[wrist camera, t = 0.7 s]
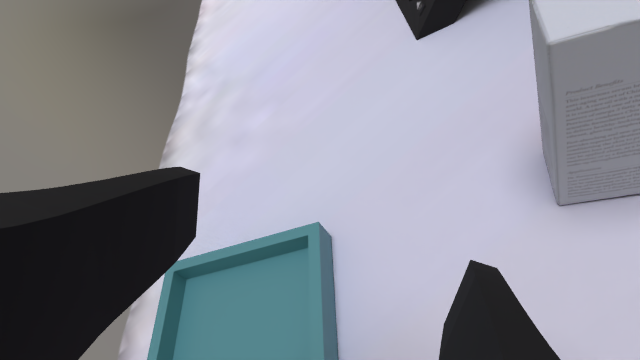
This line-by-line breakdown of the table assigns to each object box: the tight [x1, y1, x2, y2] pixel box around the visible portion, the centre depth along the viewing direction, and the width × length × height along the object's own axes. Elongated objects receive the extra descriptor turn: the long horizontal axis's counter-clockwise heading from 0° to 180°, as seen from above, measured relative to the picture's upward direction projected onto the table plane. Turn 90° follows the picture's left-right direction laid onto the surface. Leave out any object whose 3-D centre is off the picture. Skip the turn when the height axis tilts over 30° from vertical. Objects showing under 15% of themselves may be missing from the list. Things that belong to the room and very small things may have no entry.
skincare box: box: [529, 0, 640, 205], centre depth 21 cm, size 6×4×12 cm
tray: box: [147, 222, 338, 360], centre depth 28 cm, size 11×13×2 cm
